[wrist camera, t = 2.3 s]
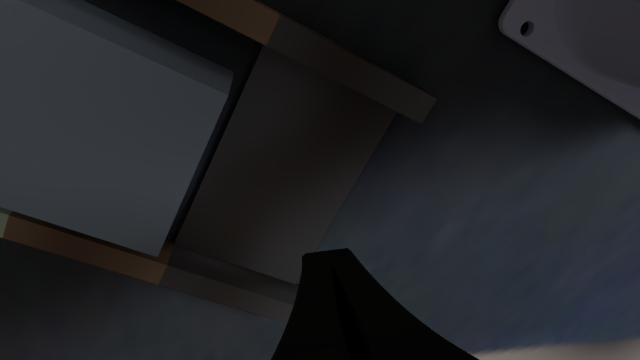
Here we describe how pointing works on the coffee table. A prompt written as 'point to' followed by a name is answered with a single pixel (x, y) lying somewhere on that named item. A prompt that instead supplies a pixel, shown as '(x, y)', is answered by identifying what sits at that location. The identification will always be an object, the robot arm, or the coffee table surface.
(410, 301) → the coffee table surface
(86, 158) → the block
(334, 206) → the trap lane
